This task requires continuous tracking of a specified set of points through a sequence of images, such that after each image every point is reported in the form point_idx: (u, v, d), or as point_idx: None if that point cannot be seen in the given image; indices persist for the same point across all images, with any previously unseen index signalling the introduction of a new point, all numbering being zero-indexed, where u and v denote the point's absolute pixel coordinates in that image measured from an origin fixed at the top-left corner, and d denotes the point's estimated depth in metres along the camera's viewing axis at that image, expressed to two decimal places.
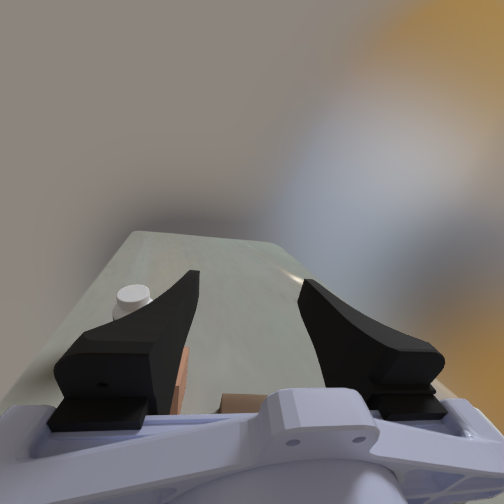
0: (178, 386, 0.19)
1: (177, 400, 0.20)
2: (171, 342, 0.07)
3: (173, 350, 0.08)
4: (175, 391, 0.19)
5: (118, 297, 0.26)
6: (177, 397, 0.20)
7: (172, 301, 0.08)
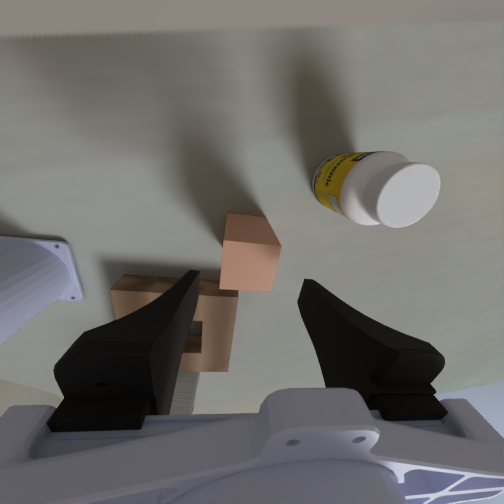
0: (220, 286, 0.16)
1: None
2: (171, 342, 0.07)
3: (173, 350, 0.08)
4: None
5: (400, 172, 0.11)
6: None
7: (172, 301, 0.08)
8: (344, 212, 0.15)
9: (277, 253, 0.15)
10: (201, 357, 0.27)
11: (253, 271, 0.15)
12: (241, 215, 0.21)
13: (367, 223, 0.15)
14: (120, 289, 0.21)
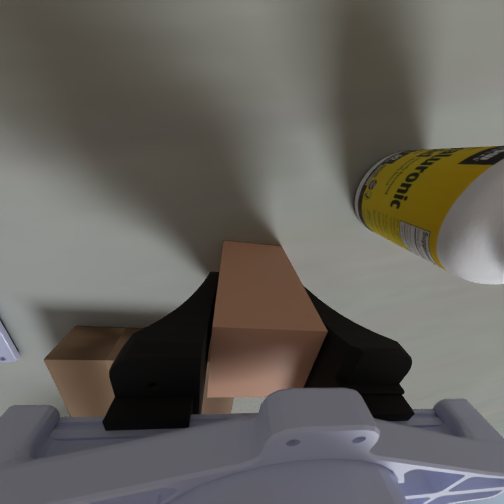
0: None
1: None
2: (206, 343, 0.07)
3: (206, 351, 0.08)
4: None
5: None
6: None
7: (203, 303, 0.08)
8: (441, 260, 0.08)
9: (318, 342, 0.08)
10: None
11: (270, 371, 0.08)
12: (245, 245, 0.14)
13: (488, 283, 0.08)
14: (61, 357, 0.14)
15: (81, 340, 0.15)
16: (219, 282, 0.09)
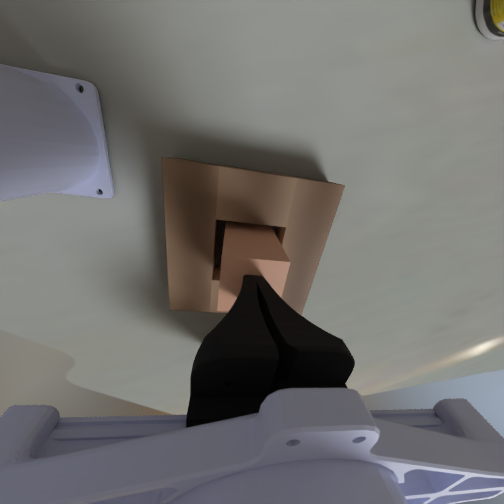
0: None
1: None
2: None
3: None
4: None
5: None
6: None
7: (251, 305, 0.09)
8: None
9: (285, 270, 0.13)
10: None
11: None
12: (242, 222, 0.19)
13: None
14: (176, 160, 0.14)
15: (186, 160, 0.15)
16: (224, 239, 0.14)
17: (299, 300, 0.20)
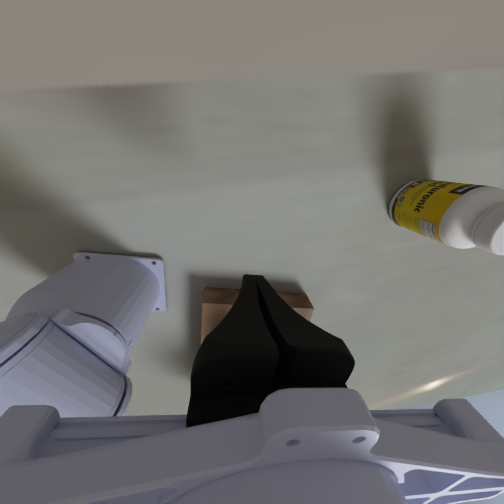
0: None
1: None
2: None
3: None
4: None
5: None
6: None
7: (251, 305, 0.09)
8: (440, 237, 0.17)
9: None
10: None
11: None
12: None
13: (462, 247, 0.17)
14: (210, 302, 0.23)
15: (215, 294, 0.24)
16: None
17: None
